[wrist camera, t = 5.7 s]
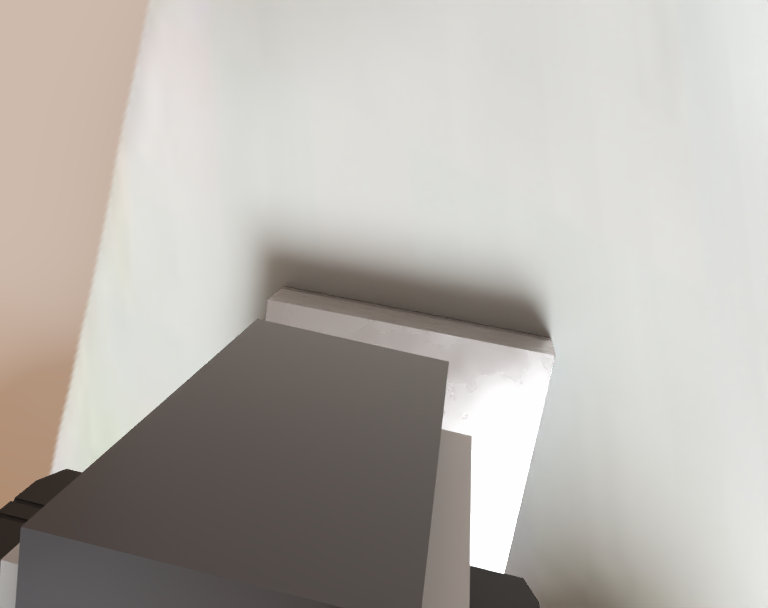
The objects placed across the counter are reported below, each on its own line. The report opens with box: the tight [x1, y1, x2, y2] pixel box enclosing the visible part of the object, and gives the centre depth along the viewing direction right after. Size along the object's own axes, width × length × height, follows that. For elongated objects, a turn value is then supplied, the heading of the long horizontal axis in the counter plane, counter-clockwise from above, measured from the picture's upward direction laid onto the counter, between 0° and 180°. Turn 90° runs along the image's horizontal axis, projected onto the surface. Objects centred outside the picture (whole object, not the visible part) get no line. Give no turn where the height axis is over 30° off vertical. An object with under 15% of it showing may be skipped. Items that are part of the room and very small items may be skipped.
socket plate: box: [265, 287, 555, 574], centre depth 33 cm, size 16×12×3 cm
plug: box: [15, 319, 449, 608], centre depth 11 cm, size 5×4×8 cm
